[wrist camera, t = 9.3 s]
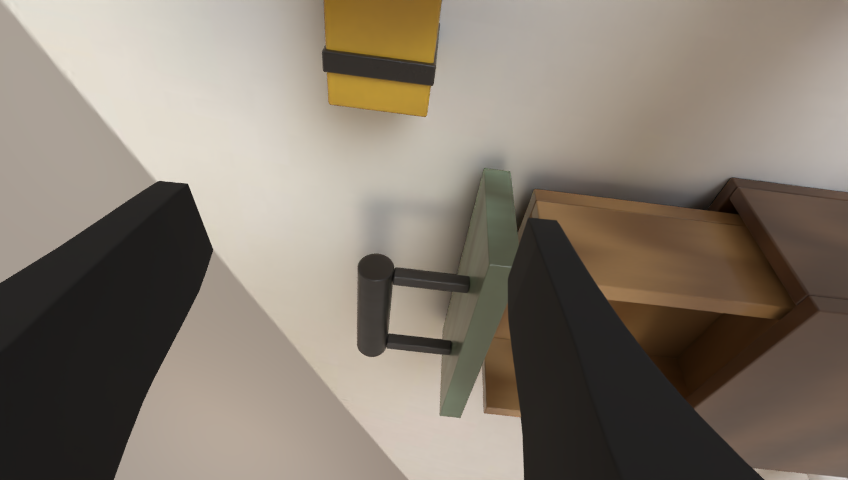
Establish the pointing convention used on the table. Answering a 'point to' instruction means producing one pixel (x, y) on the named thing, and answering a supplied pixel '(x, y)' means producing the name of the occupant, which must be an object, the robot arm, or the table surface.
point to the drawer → (613, 273)
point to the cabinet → (790, 337)
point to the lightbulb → (824, 477)
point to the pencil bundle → (381, 53)
